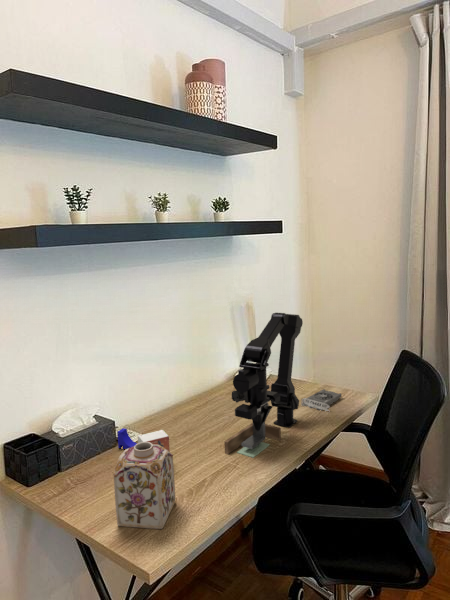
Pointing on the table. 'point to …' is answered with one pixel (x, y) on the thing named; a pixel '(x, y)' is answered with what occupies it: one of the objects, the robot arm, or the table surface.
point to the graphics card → (321, 400)
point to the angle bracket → (255, 437)
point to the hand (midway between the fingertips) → (258, 429)
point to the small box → (156, 439)
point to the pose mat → (253, 450)
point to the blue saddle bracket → (124, 439)
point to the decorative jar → (144, 486)
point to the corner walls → (248, 432)
